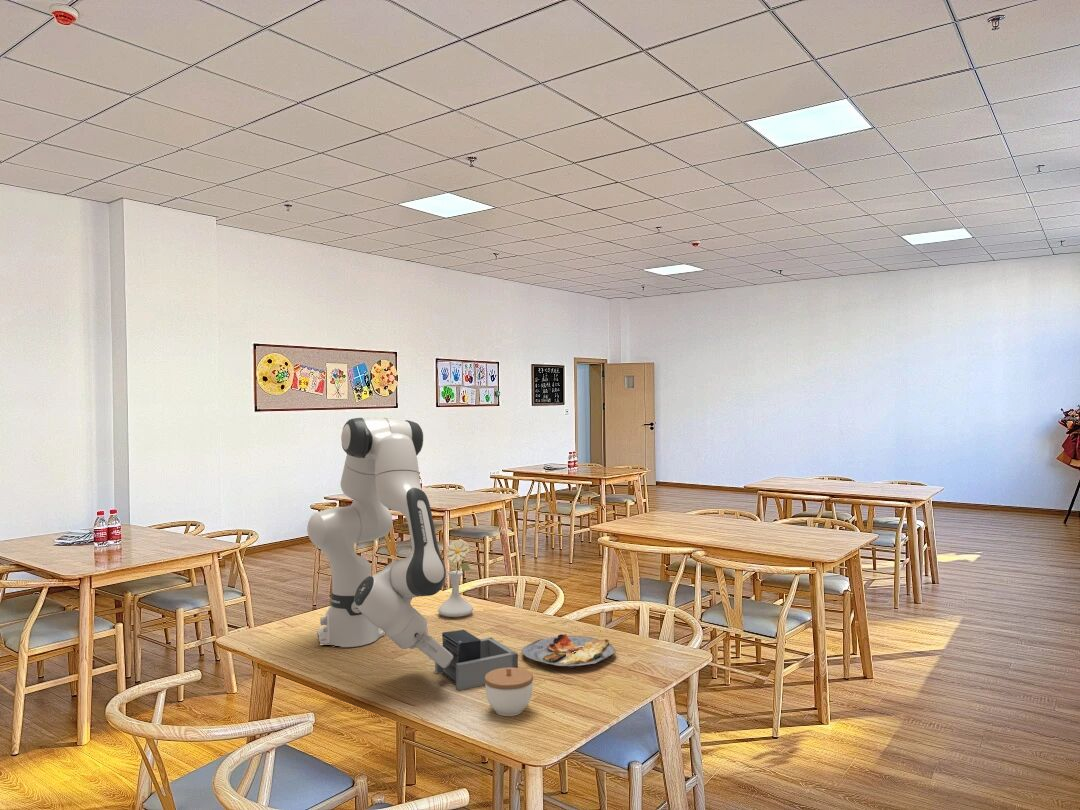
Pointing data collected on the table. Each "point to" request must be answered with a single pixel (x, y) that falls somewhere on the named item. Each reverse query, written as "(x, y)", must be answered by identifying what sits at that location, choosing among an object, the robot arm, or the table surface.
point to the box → (483, 664)
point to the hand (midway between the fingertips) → (447, 662)
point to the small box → (460, 650)
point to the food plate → (568, 650)
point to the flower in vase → (456, 582)
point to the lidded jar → (508, 690)
